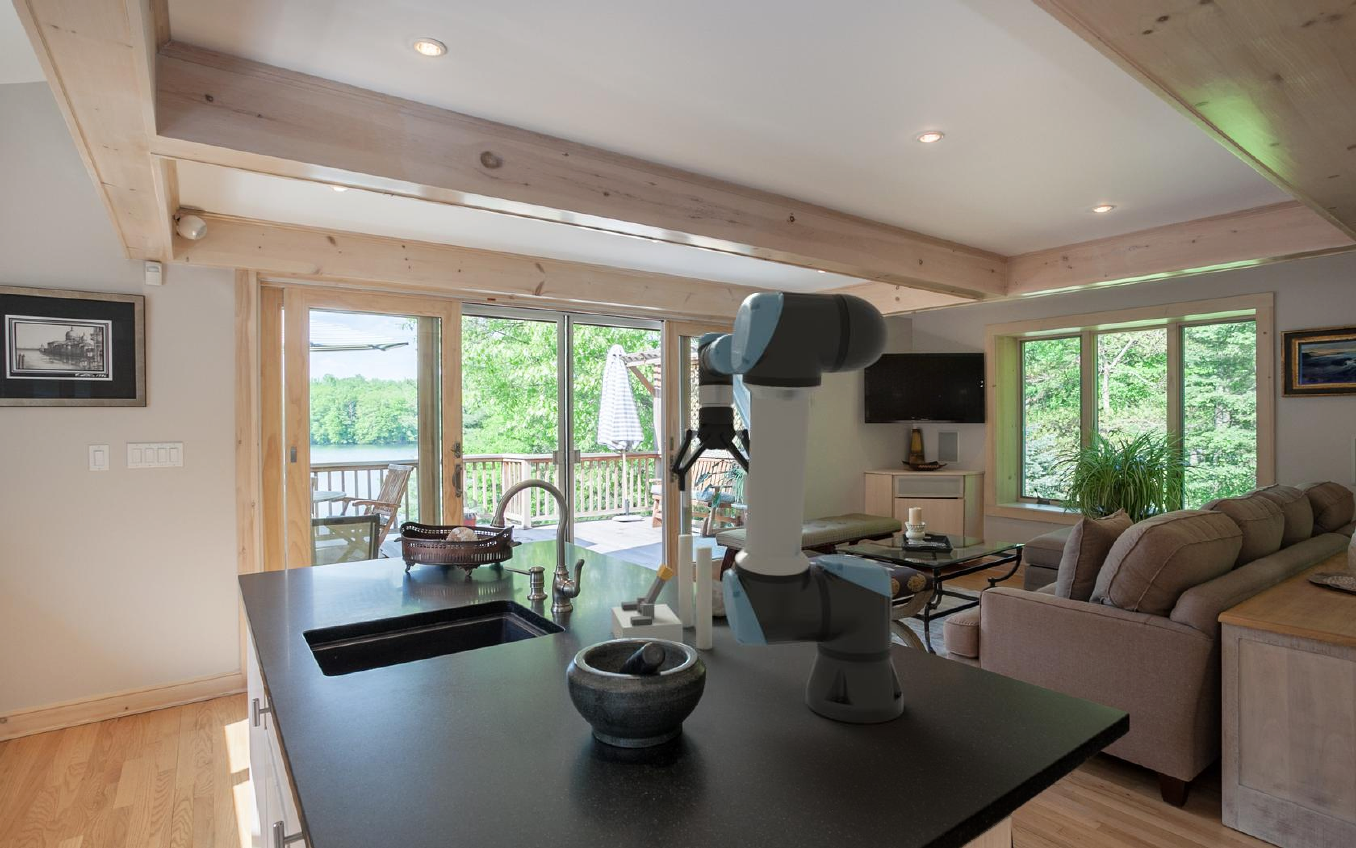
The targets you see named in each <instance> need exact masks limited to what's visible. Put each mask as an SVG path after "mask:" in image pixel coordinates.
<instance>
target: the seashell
mask: <svg viewBox="0 0 1356 848" xmlns="http://www.w3.org/2000/svg"><path fill="white" fill-rule="evenodd" d="M694 597H695V598H694V599H695V600H694V606H693V609H694V610H695V611H696V594H695V596H694ZM724 616H727V615H726V610H725V604H724V598H723V588H722V580H720V579H713V578H712V617H724Z"/></svg>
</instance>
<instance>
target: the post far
mask: <svg viewBox="0 0 1356 848" xmlns="http://www.w3.org/2000/svg"><path fill="white" fill-rule="evenodd" d="M693 539H694V536H693V535H692V534H679V535H678V544H677V545H678V546H677V547H678V551H677V552H678V560H677V562H678V565H677V566H678V573H677V574H678V579H677V580H678V619H679V620H680V621H681V622H682V624H683V629H686V628H691V627H693V626H694V553H693V552H694V547H693V546H694V540H693Z"/></svg>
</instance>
